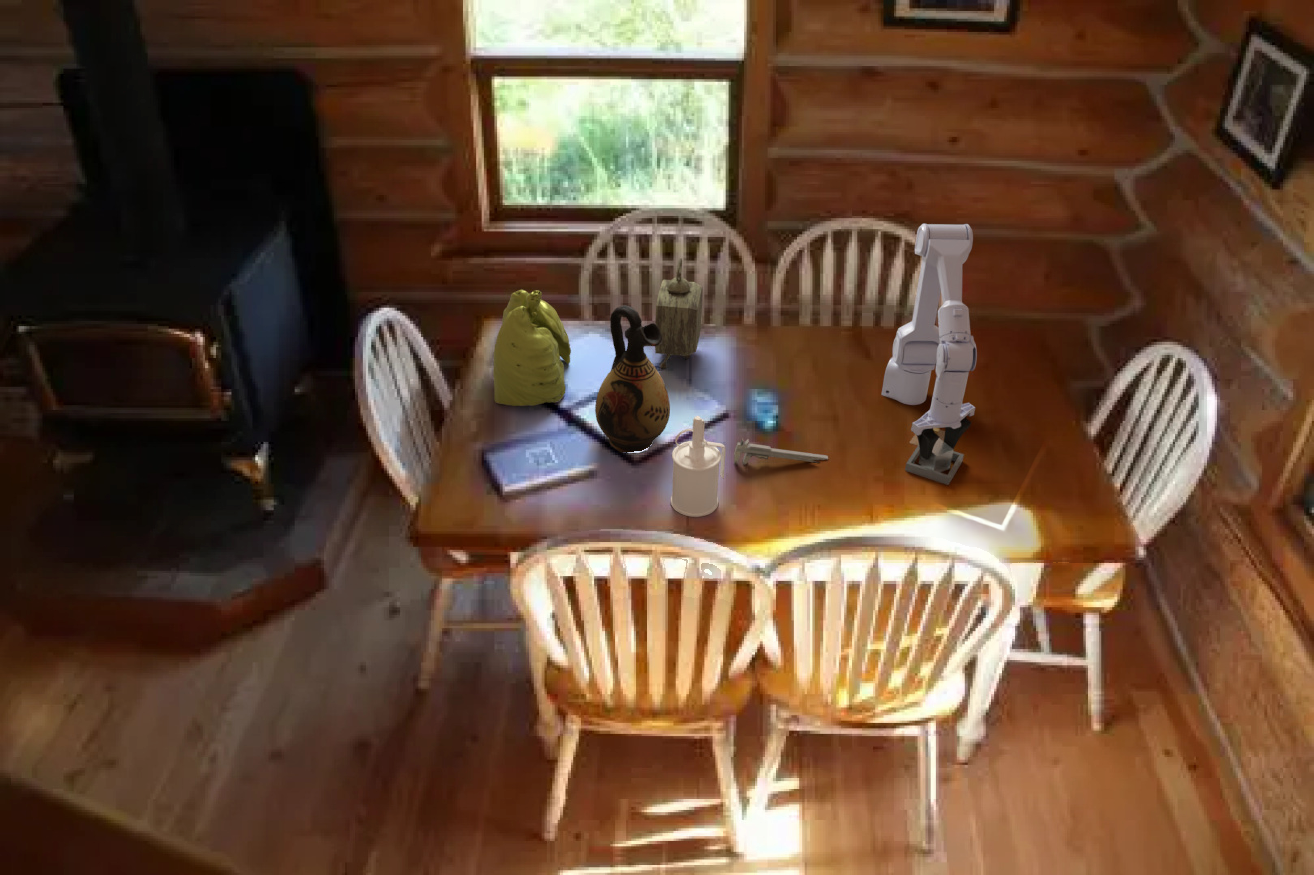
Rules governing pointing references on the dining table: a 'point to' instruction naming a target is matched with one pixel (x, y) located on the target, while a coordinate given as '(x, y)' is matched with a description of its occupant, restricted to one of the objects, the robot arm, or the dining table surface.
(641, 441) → the ceramic jug
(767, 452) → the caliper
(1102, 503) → the dining table surface
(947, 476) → the bin
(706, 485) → the white cylinder with rod
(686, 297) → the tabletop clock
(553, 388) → the lungs
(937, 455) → the grey block
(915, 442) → the stud plate
